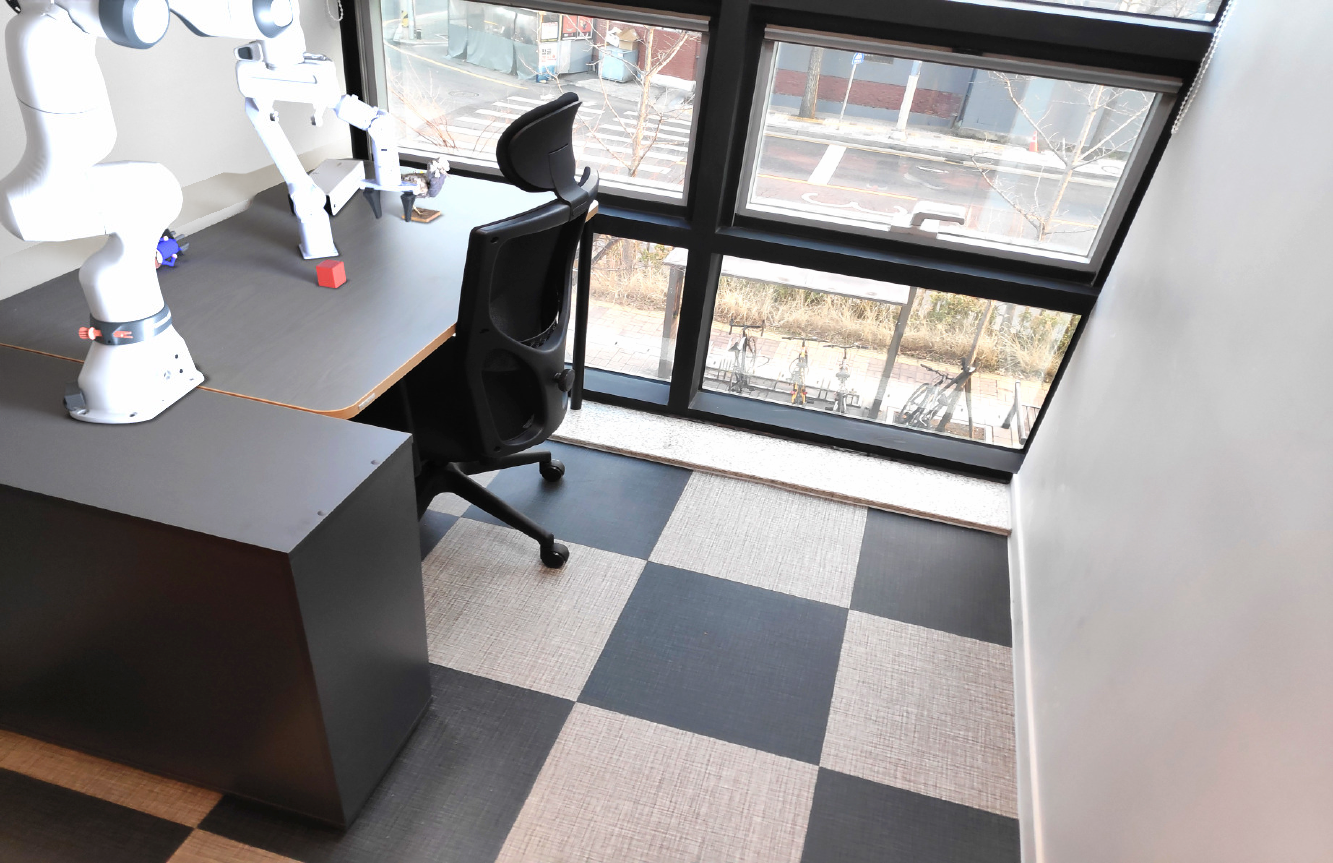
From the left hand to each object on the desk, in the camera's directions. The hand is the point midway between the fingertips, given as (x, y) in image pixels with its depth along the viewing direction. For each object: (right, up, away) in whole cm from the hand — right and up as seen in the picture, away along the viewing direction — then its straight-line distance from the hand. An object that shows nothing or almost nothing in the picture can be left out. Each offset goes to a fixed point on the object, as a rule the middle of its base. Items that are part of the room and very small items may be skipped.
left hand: (295, 123), depth 170 cm
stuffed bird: (+8, -4, +61) cm, 61 cm away
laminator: (-21, +4, +69) cm, 73 cm away
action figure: (+1, +11, +81) cm, 82 cm away
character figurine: (-41, -25, +23) cm, 53 cm away
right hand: (+9, -11, +35) cm, 38 cm away
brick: (-1, -30, +21) cm, 36 cm away
